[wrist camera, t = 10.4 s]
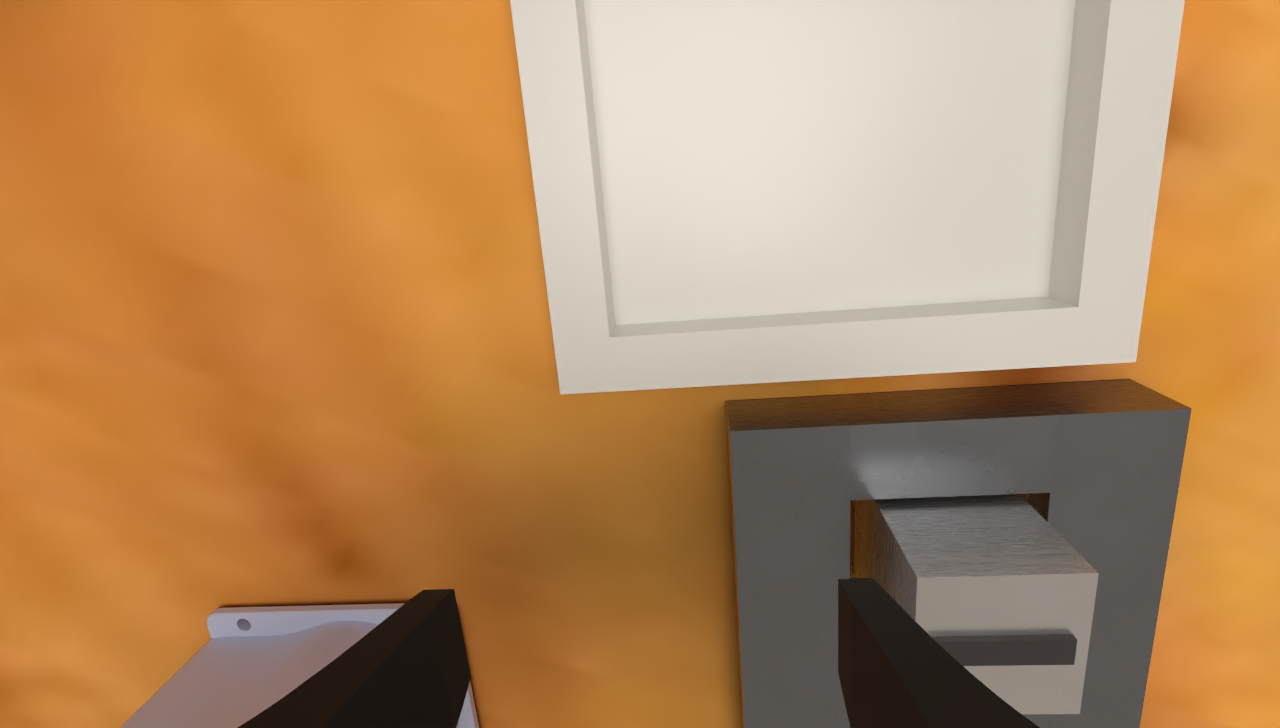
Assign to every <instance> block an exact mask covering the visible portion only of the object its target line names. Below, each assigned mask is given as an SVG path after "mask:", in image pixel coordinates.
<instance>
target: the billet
mask: <svg viewBox="0 0 1280 728" xmlns="http://www.w3.org/2000/svg"><path fill="white" fill-rule="evenodd" d="M854 574H855V576H856V578H873V579H875V580H876V581H877V582H878V583H879V584H880V585H881V586H882V587H883V588H884V589H885V590H886V591H887V592H888V593H889V594H890V596H891V597H892V598H893V599H894V600H895V601H896V602H897V603H898V604H899V605H900V606H901V607H902V608H903V609H904V610H905V611H906V612H907V613H908V614H909V615H910V616H911V617H912V618H913V619H914V620H915V621H916V622H917V623H918V624H919V625H920V626H921V627H922V628H923V629H924V630H925V631H926V632H927V633H928V634H929V635H930V636H931V637H932V638H933V639H934V640H935V641H936V642H938V643H939V644H940V645H941V646H942V647H943V648H944V649H945V650H946V651H947V652H948V653H949V654H950V655H951V656H952V657H954V658H955V659H956V660H957V661H958V662H959V663H960V664H961V665H962V666H963V667H965V668H966V669H967V670H968V671H969V672H970V673H971V674H972V675H974V676H975V677H976V678H977V679H978V680H980V681H981V682H982V683H983V684H984V685H986V686H987V687H988V688H989V689H990V690H991V691H993V692H994V693H995V694H996V695H997V696H999V697H1000V698H1001V699H1002V700H1004V701H1005V702H1006V703H1008V704H1009V705H1010V706H1011V707H1013V708H1014V709H1015V710H1017V711H1018V712H1019V713H1021V714H1080V709H1081V701H1082V694H1083V686H1084V679H1085V672H1086V664H1087V657H1088V649H1089V642H1090V635H1091V627H1092V620H1093V612H1094V605H1095V598H1096V590H1097V583H1098V575H1099V573H1098V572H1097V571H1096V570H1095V569H1094V568H1093V567H1092V566H1091V565H1090V564H1089V563H1088V562H1087V561H1086V560H1085V559H1084V558H1083V557H1082V556H1081V555H1080V554H1079V553H1078V552H1077V551H1076V550H1075V549H1074V548H1073V547H1072V546H1071V545H1070V544H1069V543H1068V542H1067V541H1066V540H1065V539H1064V538H1063V537H1062V536H1061V535H1060V534H1059V533H1058V532H1057V531H1056V530H1055V529H1054V528H1053V527H1052V526H1051V525H1050V524H1049V523H1048V522H1047V521H1046V520H1045V519H1044V518H1043V517H1042V516H1041V515H1040V514H1039V513H1038V512H1037V511H1036V510H1035V509H1034V508H1033V507H1032V506H1031V505H1030V504H1029V503H1028V502H1027V501H1026V500H1025V499H1024V498H1023V497H1022V496H1021V495H1020V494H1003V495H977V496H951V497H925V498H899V499H873V500H855V553H854Z"/></svg>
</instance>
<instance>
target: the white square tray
mask: <svg viewBox="0 0 1280 728" xmlns="http://www.w3.org/2000/svg"><path fill="white" fill-rule="evenodd" d="M510 2H511V10H512V18H513V26H514V34H515V42H516V50H517V57H518V65H519V73H520V81H521V89H522V97H523V105H524V113H525V120H526V128H527V136H528V144H529V152H530V160H531V168H532V176H533V183H534V191H535V199H536V207H537V215H538V223H539V231H540V239H541V246H542V254H543V262H544V270H545V278H546V286H547V294H548V302H549V309H550V317H551V325H552V333H553V341H554V349H555V357H556V364H557V372H558V380H559V388H560V394H578V393H596V392H614V391H631V390H649V389H667V388H684V387H702V386H720V385H738V384H755V383H773V382H791V381H808V380H826V379H844V378H862V377H879V376H897V375H915V374H932V373H950V372H968V371H986V370H1003V369H1021V368H1039V367H1056V366H1074V365H1092V364H1110V363H1127V362H1136V358H1137V350H1138V343H1139V335H1140V328H1141V321H1142V313H1143V306H1144V298H1145V291H1146V284H1147V276H1148V269H1149V261H1150V254H1151V246H1152V239H1153V232H1154V224H1155V217H1156V209H1157V202H1158V195H1159V187H1160V180H1161V172H1162V165H1163V158H1164V150H1165V143H1166V135H1167V128H1168V120H1169V113H1170V106H1171V98H1172V91H1173V83H1174V76H1175V69H1176V61H1177V54H1178V46H1179V39H1180V31H1181V24H1182V17H1183V9H1184V2H1185V0H510Z"/></svg>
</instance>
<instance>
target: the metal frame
mask: <svg viewBox="0 0 1280 728" xmlns="http://www.w3.org/2000/svg"><path fill="white" fill-rule="evenodd" d="M1190 414H1191V408H1189V407H1187V406H1185V405H1183V404H1181V403H1179V402H1177V401H1175V400H1173V399H1171V398H1168V397H1166V396H1164V395H1162V394H1160V393H1158V392H1156V391H1154V390H1152V389H1150V388H1148V387H1145V386H1143V385H1141V384H1139V383H1137V382H1135V381H1133V380H1131V379H1121V380H1103V381H1084V382H1066V383H1047V384H1029V385H1010V386H992V387H973V388H955V389H936V390H918V391H899V392H881V393H862V394H844V395H826V396H807V397H789V398H770V399H752V400H733V401H726V416H727V436H728V455H729V474H730V494H731V513H732V533H733V552H734V572H735V591H736V611H737V630H738V650H739V669H740V689H741V708H742V728H850V724H849V719H848V715H847V711H846V706H845V702H844V697H843V693H842V688H841V683H840V679H839V674H838V579H850V500H873V499H899V498H925V497H951V496H977V495H1003V494H1020V495H1021V496H1022V497H1023V498H1024V499H1025V500H1026V501H1027V502H1028V503H1029V504H1030V505H1031V506H1032V507H1033V508H1034V509H1035V510H1036V511H1037V512H1038V513H1039V514H1040V515H1041V516H1042V517H1043V518H1044V519H1045V520H1046V521H1047V522H1048V523H1049V524H1050V525H1051V526H1052V527H1053V528H1054V529H1055V530H1056V531H1057V532H1058V533H1059V534H1060V535H1061V536H1062V537H1063V538H1064V539H1065V540H1066V541H1067V542H1068V543H1069V544H1070V545H1071V546H1072V547H1073V548H1074V549H1075V550H1076V551H1077V552H1078V553H1079V554H1080V555H1081V556H1082V557H1083V558H1084V559H1085V560H1086V561H1087V562H1088V563H1089V564H1090V565H1091V566H1092V567H1093V568H1094V569H1095V570H1096V571H1097V572H1098V573H1099V575H1098V583H1097V590H1096V598H1095V605H1094V612H1093V620H1092V627H1091V635H1090V642H1089V649H1088V657H1087V664H1086V672H1085V679H1084V686H1083V694H1082V701H1081V709H1080V714H1022V715H1023V716H1025V717H1026V718H1027V719H1029V720H1030V721H1032V722H1033V723H1034V724H1036V725H1037V726H1038V727H1040V728H1139V726H1140V720H1141V714H1142V708H1143V702H1144V696H1145V690H1146V684H1147V677H1148V671H1149V665H1150V659H1151V653H1152V647H1153V641H1154V635H1155V628H1156V622H1157V616H1158V610H1159V604H1160V598H1161V592H1162V586H1163V579H1164V573H1165V567H1166V561H1167V555H1168V549H1169V543H1170V537H1171V530H1172V524H1173V518H1174V512H1175V506H1176V500H1177V494H1178V488H1179V482H1180V475H1181V469H1182V463H1183V457H1184V451H1185V445H1186V439H1187V433H1188V426H1189V420H1190Z"/></svg>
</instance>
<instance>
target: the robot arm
mask: <svg viewBox="0 0 1280 728" xmlns="http://www.w3.org/2000/svg"><path fill="white" fill-rule="evenodd" d="M245 619H246V620H247V621H249V623H248V622H247V621H246V620H245ZM206 621H207V627H208V630H209V633H210V636H211V640H210V641H209V642H207V643H206V644H205V645H204V646H203V647H202V648H201V649H200V650H199V651H198V652H197V653H196V654H195V655H194V656H193V657H192V658H191V659H190V660H189V661H188V662H187V663H186V664H185V665H184V666H183V667H182V668H181V669H180V670H179V671H178V672H177V673H176V674H175V675H174V676H173V677H172V678H171V679H170V680H169V681H168V682H166V683H165V684H164V685H163V686H162V687H161V688H160V689H159V690H158V691H157V692H156V693H155V694H154V695H153V696H152V697H151V698H150V699H149V700H148V701H147V702H146V703H145V704H144V705H143V706H142V707H141V708H140V709H139V710H138V711H137V712H136V713H135V714H134V715H133V716H132V717H131V718H130V719H129V720H128V721H127V722H126V723H124V724H123V725H122V726H121V727H120V728H479V724H478V719H477V713H476V708H475V703H474V698H473V693H472V688H471V683H470V679H471V676H470V670H469V665H468V660H467V655H466V650H465V644H464V639H463V634H462V629H461V624H460V619H459V613H458V608H457V603H456V598H455V593H454V589H446V590H423V591H422V592H420V593H419V594H417V595H416V596H414V597H413V598H412V599H410V600H409V601H408V602H406V603H393V604H353V605H313V606H273V607H233V608H218V609H216V610H215V611H214V612H212V613H211V614H210V615H209V616H208V618H207V620H206ZM838 674H839V679H840V683H841V688H842V693H843V697H844V702H845V706H846V711H847V715H848V719H849V724H850V728H1040V727H1038V726H1037V725H1036V724H1034V723H1033V722H1032V721H1030V720H1029V719H1027V718H1026V717H1025V716H1023V715H1022V714H1021V713H1019V712H1018V711H1017V710H1015V709H1014V708H1013V707H1011V706H1010V705H1009V704H1008V703H1006V702H1005V701H1004V700H1002V699H1001V698H1000V697H999V696H997V695H996V694H995V693H994V692H993V691H991V690H990V689H989V688H988V687H987V686H986V685H984V684H983V683H982V682H981V681H980V680H978V679H977V678H976V677H975V676H974V675H972V674H971V673H970V672H969V671H968V670H967V669H966V668H965V667H963V666H962V665H961V664H960V663H959V662H958V661H957V660H956V659H955V658H954V657H952V656H951V655H950V654H949V653H948V652H947V651H946V650H945V649H944V648H943V647H942V646H941V645H940V644H939V643H938V642H936V641H935V640H934V639H933V638H932V637H931V636H930V635H929V634H928V633H927V632H926V631H925V630H924V629H923V628H922V627H921V626H920V625H919V624H918V623H917V622H916V621H915V620H914V619H913V618H912V617H911V616H910V615H909V614H908V613H907V612H906V611H905V610H904V609H903V608H902V607H901V606H900V605H899V604H898V603H897V602H896V601H895V600H894V599H893V598H892V597H891V596H890V594H889V593H888V592H887V591H886V590H885V589H884V588H883V587H882V586H881V585H880V584H879V583H878V582H877V581H876V580H875V579H873V578H855V579H838Z"/></svg>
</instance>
